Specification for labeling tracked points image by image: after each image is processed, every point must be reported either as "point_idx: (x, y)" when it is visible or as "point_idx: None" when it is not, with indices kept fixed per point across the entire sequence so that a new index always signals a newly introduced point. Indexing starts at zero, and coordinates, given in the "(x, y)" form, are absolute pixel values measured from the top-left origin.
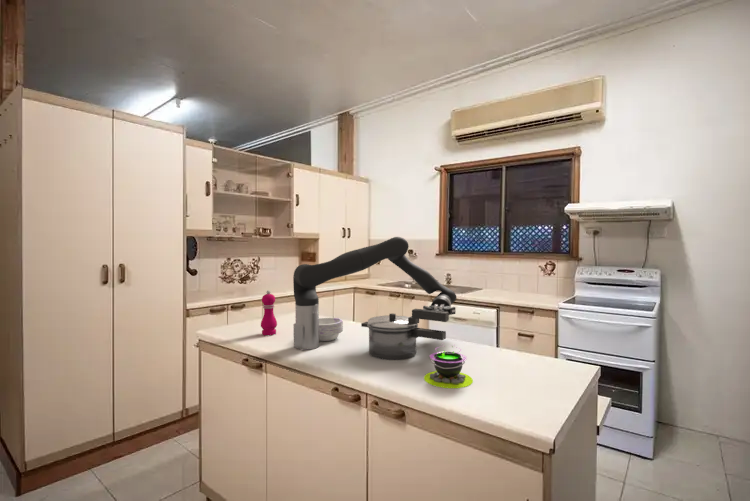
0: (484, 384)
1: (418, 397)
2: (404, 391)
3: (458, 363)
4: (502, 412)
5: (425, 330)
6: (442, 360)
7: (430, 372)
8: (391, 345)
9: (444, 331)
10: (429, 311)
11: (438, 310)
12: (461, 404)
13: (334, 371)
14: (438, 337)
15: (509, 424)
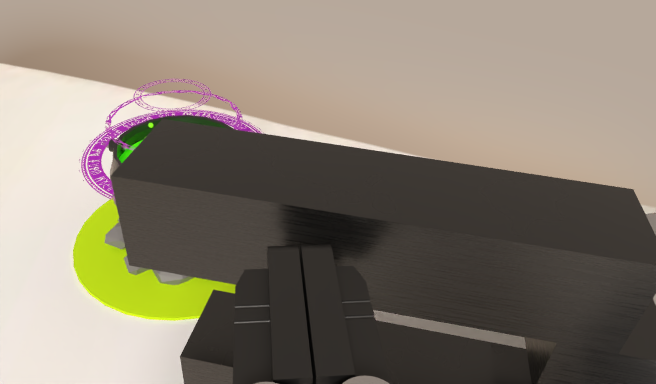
0: (32, 223)
1: (277, 123)
2: (327, 140)
3: (134, 143)
4: (47, 103)
5: (396, 335)
6: (206, 124)
7: None
8: None
9: (195, 349)
10: (377, 160)
11: (282, 294)
12: (154, 114)
13: (647, 206)
14: None
15: (53, 76)
